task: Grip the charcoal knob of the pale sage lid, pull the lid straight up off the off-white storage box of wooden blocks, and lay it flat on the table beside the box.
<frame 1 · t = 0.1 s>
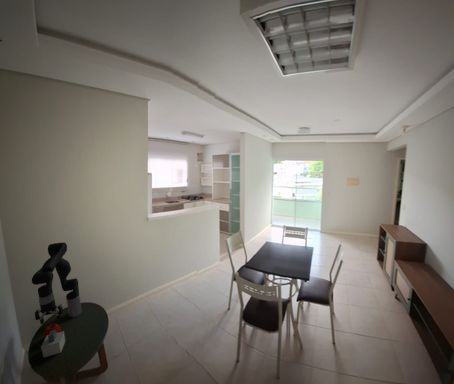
hand: (50, 321, 141), 29 cm above the table, fingers open, 8 cm apart
storage box: (54, 349, 153), on the table
apple: (53, 337, 163), on the table
lid: (53, 341, 152), point 6 cm above the table, touching storage box
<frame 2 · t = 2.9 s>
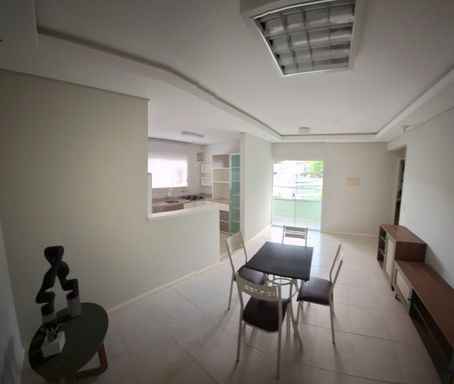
hand: (53, 338, 151), 9 cm above the table, fingers closed on lid, 3 cm apart
lid: (53, 341, 152), point 7 cm above the table, touching gripper, storage box
everything else where it was.
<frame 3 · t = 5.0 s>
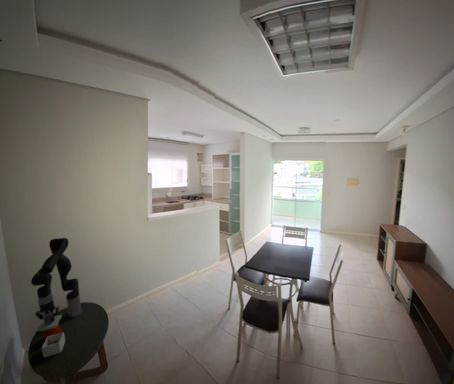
hand: (49, 321, 149), 23 cm above the table, fingers closed on lid, 3 cm apart
lid: (50, 324, 149), point 21 cm above the table, touching gripper
everything else where it was.
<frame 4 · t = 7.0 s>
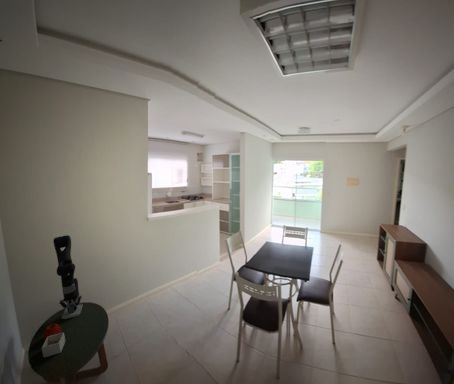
hand: (72, 310, 156), 26 cm above the table, fingers closed on lid, 3 cm apart
lid: (73, 313, 156), point 23 cm above the table, touching gripper
everything else where it was.
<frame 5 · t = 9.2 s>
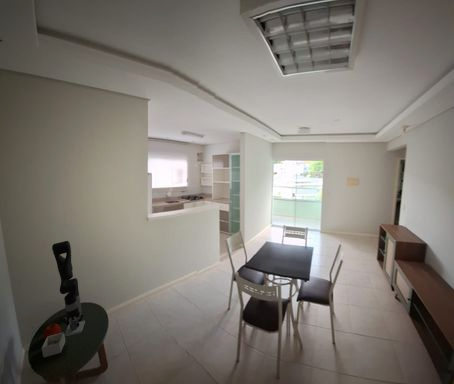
hand: (75, 327, 158), 11 cm above the table, fingers closed on lid, 3 cm apart
lid: (75, 330, 159), point 9 cm above the table, touching gripper
everything else where it was.
when the fingers open (4 cm above the table, at t = 11.0 s): lid drops 2 cm, on the table.
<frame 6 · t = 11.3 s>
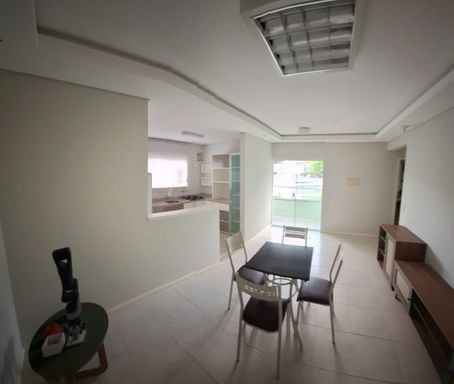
hand: (76, 335, 160), 4 cm above the table, fingers open, 5 cm apart
lid: (77, 339, 160), on the table
everything else where it was.
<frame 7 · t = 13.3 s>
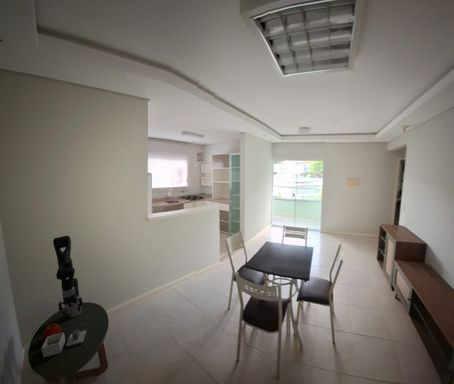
hand: (72, 312, 157), 23 cm above the table, fingers open, 8 cm apart
nothing on the table moved.
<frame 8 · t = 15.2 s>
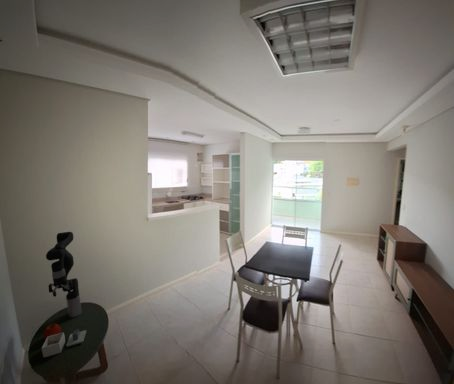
hand: (62, 294, 158), 36 cm above the table, fingers open, 8 cm apart
nothing on the table moved.
at the end: lid inside the target area (0.1 cm from its centre), on the table; lid tilted 0°; lid touching table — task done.
